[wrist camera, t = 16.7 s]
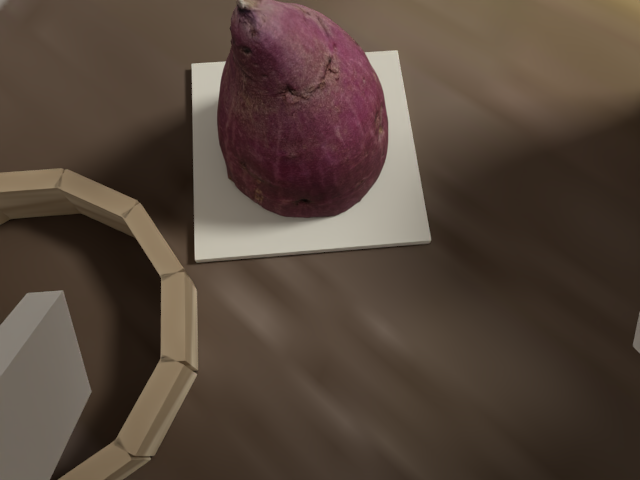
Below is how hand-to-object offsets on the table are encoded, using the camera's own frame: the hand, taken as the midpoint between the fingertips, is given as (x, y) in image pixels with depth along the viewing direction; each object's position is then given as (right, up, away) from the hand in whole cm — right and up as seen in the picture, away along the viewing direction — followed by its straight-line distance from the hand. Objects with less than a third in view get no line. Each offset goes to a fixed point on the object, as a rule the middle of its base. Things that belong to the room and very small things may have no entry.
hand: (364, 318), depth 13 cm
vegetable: (-2, +8, +23) cm, 24 cm away
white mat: (-2, +8, +23) cm, 25 cm away
